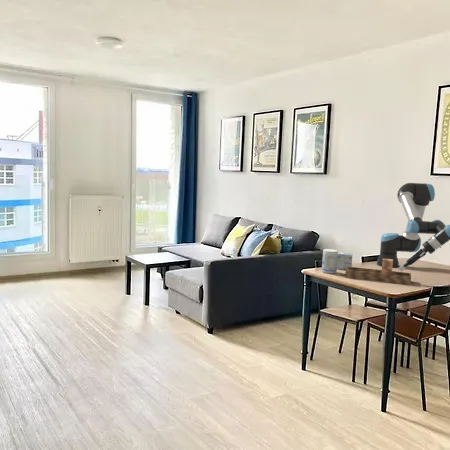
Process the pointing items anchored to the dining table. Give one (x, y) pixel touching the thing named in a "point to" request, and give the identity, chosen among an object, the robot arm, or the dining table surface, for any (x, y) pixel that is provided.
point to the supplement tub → (329, 261)
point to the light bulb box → (344, 260)
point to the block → (387, 266)
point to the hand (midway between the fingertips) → (399, 269)
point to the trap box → (378, 275)
